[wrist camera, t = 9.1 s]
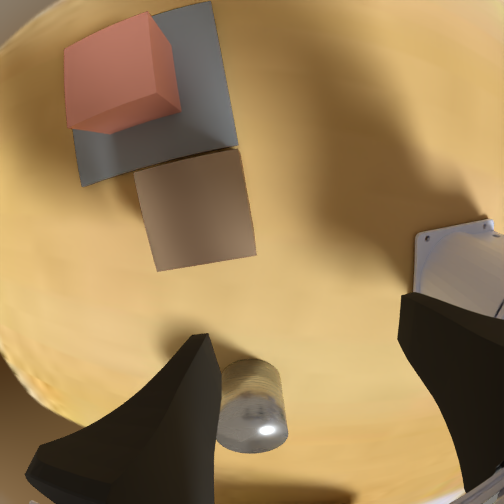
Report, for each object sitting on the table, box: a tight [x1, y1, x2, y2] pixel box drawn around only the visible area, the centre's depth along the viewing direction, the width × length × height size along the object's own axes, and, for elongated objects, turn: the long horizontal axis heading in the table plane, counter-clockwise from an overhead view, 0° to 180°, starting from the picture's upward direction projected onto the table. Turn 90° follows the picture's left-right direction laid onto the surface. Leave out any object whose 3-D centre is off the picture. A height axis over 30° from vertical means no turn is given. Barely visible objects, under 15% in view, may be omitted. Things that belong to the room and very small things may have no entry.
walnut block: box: [133, 149, 257, 272], centre depth 15 cm, size 5×5×5 cm
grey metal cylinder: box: [216, 359, 288, 453], centre depth 19 cm, size 5×5×6 cm
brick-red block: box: [64, 11, 182, 134], centre depth 12 cm, size 5×5×5 cm
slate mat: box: [73, 1, 238, 187], centre depth 15 cm, size 11×11×1 cm
